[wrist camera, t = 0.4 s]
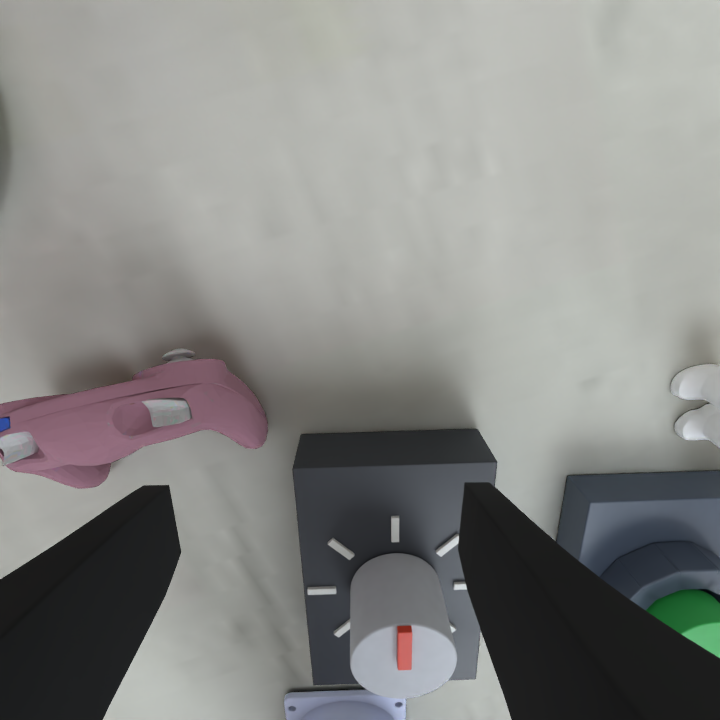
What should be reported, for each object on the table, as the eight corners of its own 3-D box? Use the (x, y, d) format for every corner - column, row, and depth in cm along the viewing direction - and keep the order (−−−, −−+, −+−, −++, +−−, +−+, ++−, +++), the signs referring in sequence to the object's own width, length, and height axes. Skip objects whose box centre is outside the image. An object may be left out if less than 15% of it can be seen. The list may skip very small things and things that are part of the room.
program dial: (437, 618, 20) (456, 705, 17) (351, 621, 20) (351, 709, 17) (441, 550, 19) (462, 629, 15) (348, 554, 19) (347, 634, 15)
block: (681, 631, 25) (739, 702, 22) (539, 636, 25) (572, 709, 22) (734, 469, 21) (815, 522, 18) (566, 474, 21) (613, 529, 18)
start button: (706, 645, 21) (737, 682, 19) (629, 648, 21) (653, 685, 19) (727, 586, 19) (763, 620, 18) (645, 589, 19) (672, 624, 18)
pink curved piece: (262, 354, 20) (192, 326, 14) (280, 442, 20) (216, 461, 13) (83, 399, 21) (-71, 395, 14) (95, 486, 20) (-60, 526, 14)
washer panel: (461, 627, 25) (476, 682, 22) (317, 632, 25) (312, 689, 22) (477, 428, 20) (498, 463, 17) (300, 434, 20) (291, 470, 17)
